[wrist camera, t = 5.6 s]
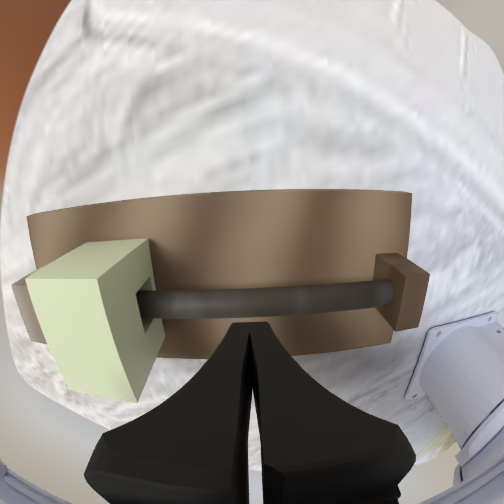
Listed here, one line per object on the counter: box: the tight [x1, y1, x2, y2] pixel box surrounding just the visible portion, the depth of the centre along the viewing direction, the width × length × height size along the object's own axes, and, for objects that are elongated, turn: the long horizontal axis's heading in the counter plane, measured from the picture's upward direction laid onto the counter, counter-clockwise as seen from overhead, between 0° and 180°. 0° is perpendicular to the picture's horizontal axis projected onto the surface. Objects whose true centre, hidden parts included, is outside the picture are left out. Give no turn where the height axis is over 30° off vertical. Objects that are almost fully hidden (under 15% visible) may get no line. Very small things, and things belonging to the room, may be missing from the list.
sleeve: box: [25, 238, 165, 403], centre depth 12 cm, size 4×6×6 cm, turn 2°
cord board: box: [12, 189, 430, 359], centre depth 14 cm, size 24×10×5 cm, turn 92°
